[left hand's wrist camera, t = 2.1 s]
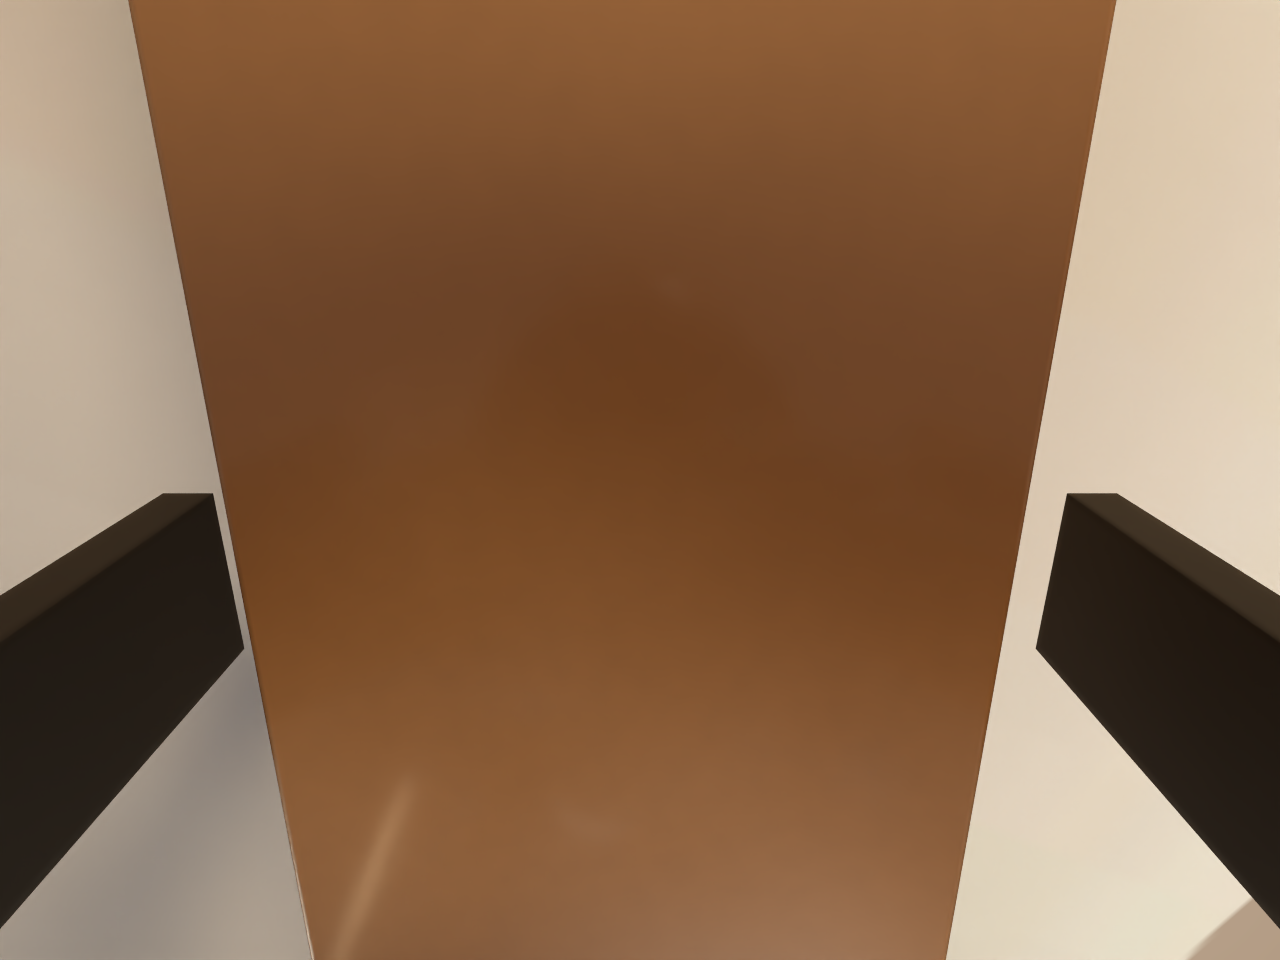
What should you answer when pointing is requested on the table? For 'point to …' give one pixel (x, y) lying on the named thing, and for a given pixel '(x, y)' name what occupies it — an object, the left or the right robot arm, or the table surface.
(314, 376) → the bar
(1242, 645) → the left robot arm
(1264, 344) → the table surface
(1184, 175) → the table surface
